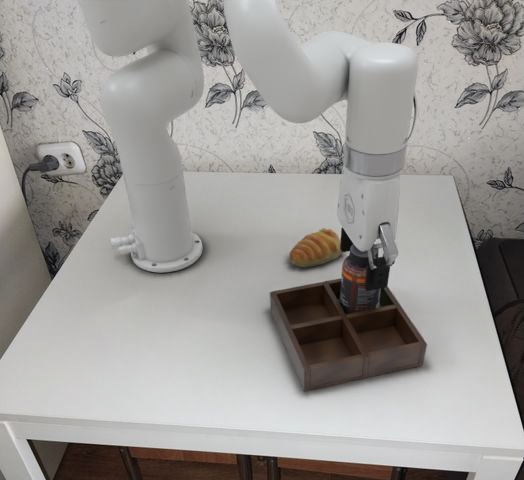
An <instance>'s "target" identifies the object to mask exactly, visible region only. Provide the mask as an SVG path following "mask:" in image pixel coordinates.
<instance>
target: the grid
mask: <svg viewBox="0 0 524 480" xmlns="http://www.w3.org/2000/svg"><path fill="white" fill-rule="evenodd" d="M340 292H341V278H335V279H329V280H324V281H318V282H314V283H309V284H303V285H299V286H298V285H297V286H293V287H288V288H282V289H278V290H273V291H270V292H269V303H270V305H269V306H270V314H271V317H272V319H273V321H274V323H275V326H276V329H277V331H278V333H279V335H280V338H281V340H282V342H283V345H284V347H285V349H286V352H287V354H288V356H289V359H290V361H291V364H292V366H293V369H294V371H295V374H296V376H297V378H298V380H299V384H300V385H301V388H302V390H303V392H307V391H308V392H309V391H312V390H316V389H321V388H327V387H330V386H335V385H340V384H344V383H349V382H353V381H357V380H363V379H367V378H371V377H376V376H380V375H386V374H389V373H394V372H398V371H399V372H400V371H403V370H408V369H412V368H418V367H421V366H424V361H425V357H426V351H427V348H428V343H427V342H426V340H425V339H424V337H423V336H422V334H421V333H420V332H419V330H418V329H417V327H416V326H415V324H414V323H413V321H412V320H411V318H410V316H409V315H408V314H407V313H406V311H405V310H404V308H403V306H402V305H401V304H400V303H399V301H398V299H397V298H396V296H395V295H394V293H393V292H392V291H391V289H390V288H389V286H388V285H387V287H385V288H381V294H380V303H379V308H375V309H370V310H365V311H360V312H355V313H350V314H345V312H344V310H343V309H342V307H341V305H340Z"/></svg>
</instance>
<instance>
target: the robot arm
mask: <svg viewBox="0 0 524 480" xmlns="http://www.w3.org/2000/svg"><path fill="white" fill-rule="evenodd" d="M78 3H79V6H80V9H81V12H82V15H83V18H84V21H85V22H84V23H85V25H86V27H87V30H88V32H89V35H90V38H91V39H92V42H93V43H94V45H95V46H96V48H97V49H98V50H99V51H100V52H101V53H102V54H105V55H106V56H109V57H113V58H117V57H118V58H119V57H123V56H128V55H131V54H133V53H136V52H139V51H141V50H143V49H145V50H146V52H147V54H146V55H145V56H143V57H140V58H138V59H136V60H134V61H132V62H130V63H127V64H126V65H124V66H122V67H120V68H118V69H117V70H115V71H114V72H113V73H111V74H110V75H109V76H108V77H107V78H106V80H105V81H104V82H103V84H102V86H101V89H100V94H99V102H100V103H99V104H100V109H101V112H102V115H103V117H104V120H105V122H106V125H107V127H108V129H109V131H110V133H111V134H110V135H111V136H112V138H113V142H114V145H115V148H116V151H117V155H118V159H119V163H120V168H121V173H122V176H123V181H124V185H125V189H126V195H127V200H128V204H129V209H130V212H131V214H130V215H131V218H132V222H133V227H132V230H133V231H132V232H131V233H127V235H125V236H116V237H111V238H109V240H110V245H111V249H112V250H118V251H119V255H126V254H128V253H129V254H130V255H131V260H132V262H133V263H134V264H135V265H136V267H138V268H140V269H142V270H144V271H148V272H153V273H172V272H177V271H180V270H183V269H186V268H188V267H189V266H191V265H193V264H194V263H195V262H197V261H198V260H199V258H200V257H201V256H202V254H203V249H204V248H203V242H202V239H201V238H200V236H199V235H198V234H196V233H195V232H193V231H192V225H191V219H190V211H189V205H188V204H189V203H188V197H187V189H186V182H185V181H186V180H185V176H184V175H185V174H184V167H183V162H182V156H181V152H180V149H179V147H178V145H177V143H176V142H175V141H174V139H173V138H172V137H171V135H170V133H169V131H168V125H170V124H171V123H172V122H174V121H175V120H176V119H178V118H179V117H181V116H182V115H184V114H185V113H188V111H190V110H191V109H193V108H194V107H195V106H197V104H198V103H199V102H200V101H201V100H202V97H203V94H204V90H205V75H204V68H203V63H202V58H201V54H200V49H199V44H198V39H197V34H196V29H195V24H194V19H193V15H192V10H191V5H190V2H189V0H78ZM222 4H223V13H224V18H225V22H226V27H227V31H228V34H229V35H228V36H229V40H230V43H231V46H232V49H233V52H234V55H235V57H236V59H237V61H238V63H239V65H240V67H241V68H242V70H243V72H244V73H245V74H246V76H247V77H248V79H249V80H250V82H251V83H252V85H253V86H254V89H256V91H257V92H258V95H260V97H261V98H262V99H263V101H264V102H265V103H266V104H267V105H268V107H269V108H270V109H271V110H272V111H273V112H274V113H275V114H276V115H277V116H279V117H280V118H281V119H283V120H285V121H287V122H289V123H294V124H305V123H309V122H312V121H314V120H316V119H317V118H319V117H320V116H321V115H322V114H323V113H325V112H326V111H327V110H329V109H330V108H332V106H333V105H335V104H337V103H340V102H342V101H346V118H345V135H344V136H345V137H344V149H343V163H342V170H341V175H340V181H339V182H340V183H339V190H338V197H337V198H338V199H337V207H336V209H337V210H336V217H337V220H338V223H339V224H340V226H341V230H340V241H341V242H340V250H341V251H342V253H347V252H350V248H351V246H352V245H353V244H354V245H355V246H356V248H357V249H359V250H360V251H362V252H363V251H367V252H368V258H369V263H370V265H367V268H366V277H365V286H364V288H365V289H366V291H371V290H376V289H381V288H385V287H387V286H388V284H389V278H390V272H391V267H393V265H395V262H396V259H397V258H398V256H399V249H398V246H397V243H396V241H395V239H396V236H397V235H396V234H397V228H398V221H399V212H400V211H399V210H400V193H401V177H400V176H401V174H402V173H403V172H404V168H405V161H406V155H407V148H408V139H409V133H410V127H411V126H410V125H411V119H412V112H413V105H414V98H415V92H416V83H417V79H418V68H419V60H418V56H417V54H416V52H415V51H414V50H413V49H412V48H411V47H409V46H408V45H407V46H406V45H404V44H401V43H395V42H375V41H370V40H368V39H363V38H361V37H359V36H356V35H354V34H351V33H348V32H344V31H341V30H333V29H331V30H325V31H322V32H320V33H317V34H316V35H313V37H311V38H309V39H308V40H306V41H304V42H303V43H301V44H299V43H298V41H297V40H296V38H295V36H294V35H293V33H292V31H291V30H290V29H289V27H288V24H287V23H286V21H285V18H284V17H283V14H282V12H281V10H280V6H279V4H278V1H277V0H222ZM377 240H380V243H375V242H376V241H377ZM373 244H374V245H373ZM375 249H379V250H380V249H382V252H383V253H382V256H378V257H379V258H378V259H376V257H375V251H374V250H375Z"/></svg>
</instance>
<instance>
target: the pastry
mask: <svg viewBox="0 0 524 480" xmlns="http://www.w3.org/2000/svg"><path fill="white" fill-rule="evenodd" d="M340 242H341V239H340V237H339V235H338V234H337V232H336V231H334V230H332V229H330V228H323V227H322V229H319V230H318V231H316V232H311V233H310V234H306V235H305V236H304V237H303V238H302V239H301V240H299V241H298V242H297V243H296V244H295V245H294V247H292V249H291V250H290V251H289V263H291V264H292V265H294V266H297V267H300V268H305V269H306V268H311V267H313V266H322V265H323V264H326V263H329V262H331V261H332V260H336V259H338V258H339V257H340V256H341V255H342V253H343V252H342V251H341V250H340Z"/></svg>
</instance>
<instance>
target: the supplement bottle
mask: <svg viewBox="0 0 524 480" xmlns="http://www.w3.org/2000/svg"><path fill="white" fill-rule="evenodd" d="M374 244H375V243H374ZM374 244H373V245H374ZM374 251H375V257H376V259H378V258H379V257H380V256H379V254H380V253H379V251H380V249H375V250H374ZM367 265H370V263H369V258H368V252H367V251H363V252H362V251H360V250H359V249H357V248H356V246H355V245H354V244H353V245H352V246H351V248H350V251H349V255H347V256H346V257H345V258H344V259H343V261H342V265H341V292H340V305H341V307H342V309H343V310H344V312H345V314H350V313H355V312H360V311H365V310H370V309H375V308H379V303H380V294H381V289H376V290H371V291H366V289H365V288H364V286H365V277H366V268H367Z"/></svg>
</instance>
